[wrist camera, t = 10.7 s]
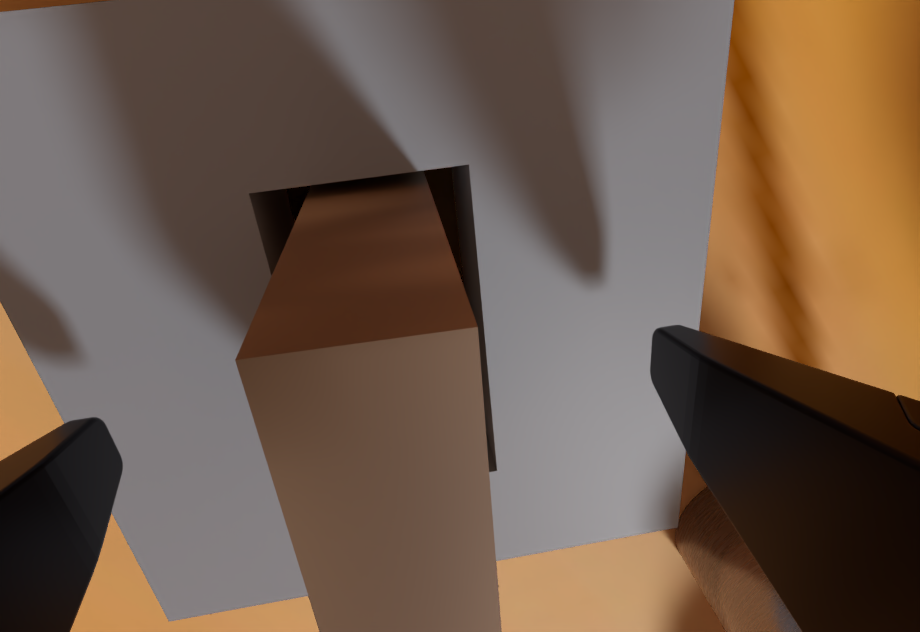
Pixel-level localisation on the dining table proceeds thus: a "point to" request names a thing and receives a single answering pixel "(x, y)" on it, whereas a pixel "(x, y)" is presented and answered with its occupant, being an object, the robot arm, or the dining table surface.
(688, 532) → the round metal peg
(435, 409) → the walnut bar
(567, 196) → the slotted block
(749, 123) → the dining table surface
